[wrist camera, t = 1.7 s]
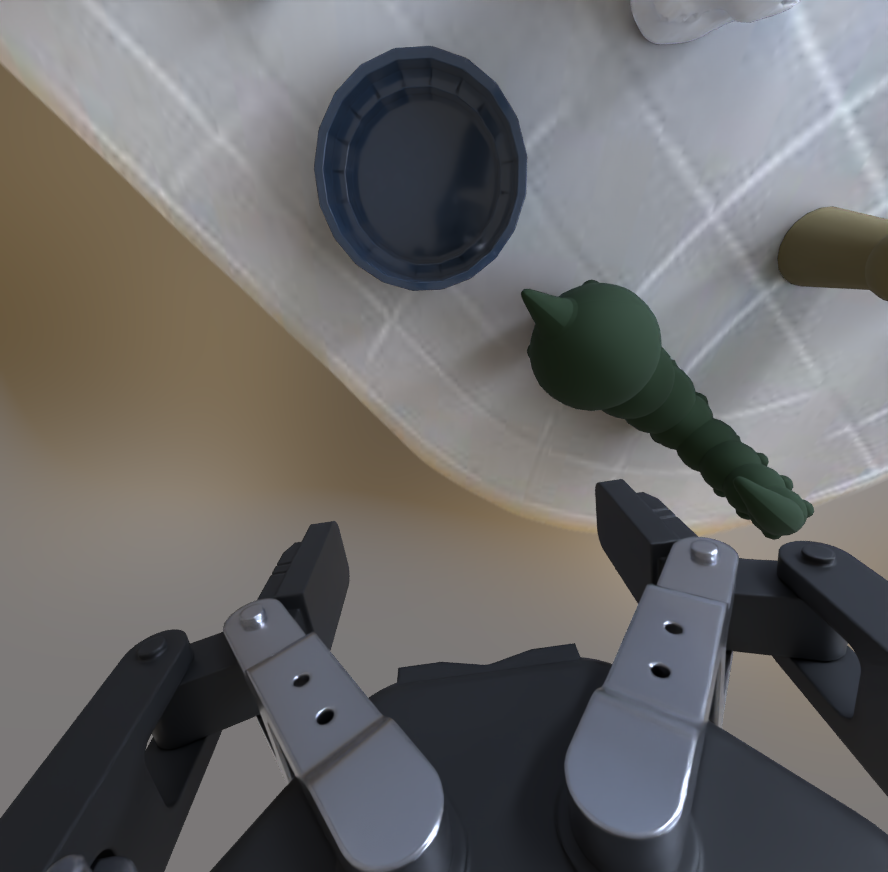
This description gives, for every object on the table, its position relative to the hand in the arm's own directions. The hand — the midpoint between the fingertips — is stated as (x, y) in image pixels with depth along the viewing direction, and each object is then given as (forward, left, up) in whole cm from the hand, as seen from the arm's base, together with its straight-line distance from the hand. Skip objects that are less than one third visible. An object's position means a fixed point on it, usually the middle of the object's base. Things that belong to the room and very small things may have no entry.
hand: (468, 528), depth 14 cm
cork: (-13, +27, -30) cm, 42 cm away
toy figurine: (0, +15, -30) cm, 33 cm away
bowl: (-9, -5, -30) cm, 31 cm away
